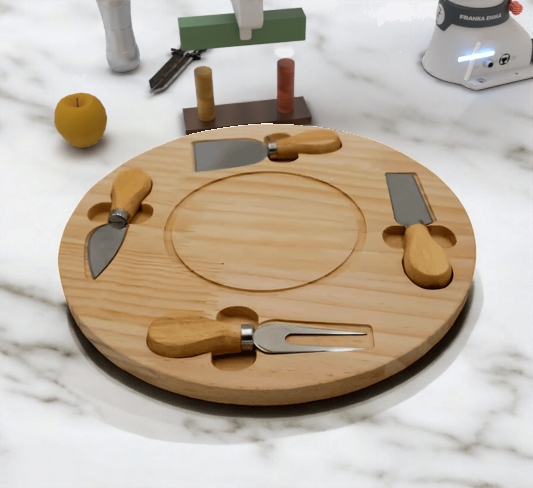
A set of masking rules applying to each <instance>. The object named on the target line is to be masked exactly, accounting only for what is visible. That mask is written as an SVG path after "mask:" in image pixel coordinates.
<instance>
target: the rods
mask: <svg viewBox="0 0 533 488" xmlns="http://www.w3.org/2000/svg"><path fill="white" fill-rule="evenodd" d="M295 65H296V62H295V60H294V59H293V58H289V57H283V58H279V59H277V61H276V98H271V99H261V100H252V101H241V102H233V103H232V102H231V103H224V104H223V103H222V104H215V93H214V80H213V78H214V77H213V69H212V68H211V67H210V66H207V65H200V66H197V67H195V68H194V70H193V76H194V89H195V97H196V106H195V107H183V108H182V115H183V123H184V129H185V136H186V135H189V134H192V133H197V132H201V131H205V130H211V129H217V128H223V127H230V126H238V125H248V124H261V123H273V124H294V125H298V126H307V125H312V119H313V118H312V115H311V112H310V109H309V107H308V104H307V102H306V99H305V97H304V96H303V95H301V96H300V95H299V96H295V77H296V75H295V74H296V73H295V71H296V69H295V67H296V66H295Z"/></svg>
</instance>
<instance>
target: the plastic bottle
mask: <svg viewBox="0 0 533 488" xmlns="http://www.w3.org/2000/svg"><path fill="white" fill-rule="evenodd" d="M131 1H132V0H95V2H96V5H97V7H98V11H99V14H100V17H101V21H102V25H103V29H104V37H105V58H106V61H107V64H108V66H109V68H111V69H112V70H113V71H115V72H121V73H125V72H130V71H133V70H134V69H136V68H137V67H138V66H139V63H140V61H141V53H140V50H139V49H140V48H139V45H138V43H137V41H136V36H135V32H134V29H133V21H132V20H133V19H132V2H131Z"/></svg>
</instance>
